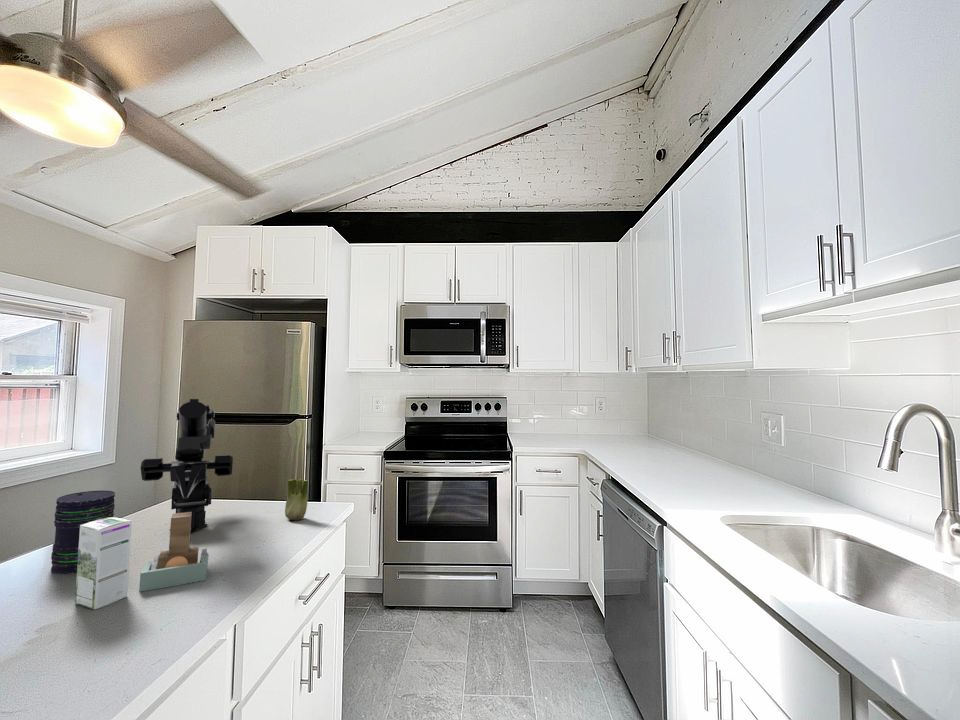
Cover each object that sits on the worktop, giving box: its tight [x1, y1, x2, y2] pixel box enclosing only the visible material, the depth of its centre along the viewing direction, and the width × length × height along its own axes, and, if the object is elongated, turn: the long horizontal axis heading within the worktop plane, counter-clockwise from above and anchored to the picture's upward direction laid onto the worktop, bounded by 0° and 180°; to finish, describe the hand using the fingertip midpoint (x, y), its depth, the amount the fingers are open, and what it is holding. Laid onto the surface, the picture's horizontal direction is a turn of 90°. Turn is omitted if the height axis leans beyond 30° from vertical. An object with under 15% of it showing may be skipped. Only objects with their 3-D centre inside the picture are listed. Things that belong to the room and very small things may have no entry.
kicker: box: [157, 512, 200, 569], centre depth 95 cm, size 4×7×11 cm, turn 120°
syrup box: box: [74, 516, 133, 611], centre depth 81 cm, size 6×6×14 cm
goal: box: [138, 554, 209, 593], centre depth 90 cm, size 6×11×4 cm, turn 120°
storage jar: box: [50, 490, 116, 575], centre depth 96 cm, size 10×10×15 cm
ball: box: [165, 556, 188, 568], centre depth 92 cm, size 4×4×4 cm
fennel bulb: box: [284, 478, 309, 521], centre depth 130 cm, size 6×5×12 cm
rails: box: [151, 548, 208, 570], centre depth 98 cm, size 8×10×1 cm
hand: (185, 497), depth 102 cm, fingers closed
